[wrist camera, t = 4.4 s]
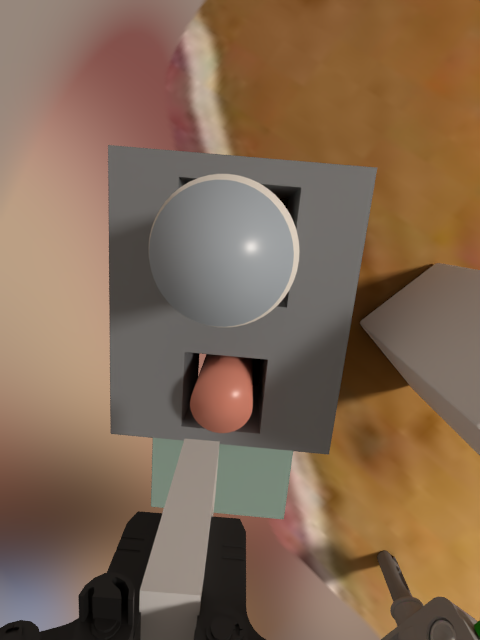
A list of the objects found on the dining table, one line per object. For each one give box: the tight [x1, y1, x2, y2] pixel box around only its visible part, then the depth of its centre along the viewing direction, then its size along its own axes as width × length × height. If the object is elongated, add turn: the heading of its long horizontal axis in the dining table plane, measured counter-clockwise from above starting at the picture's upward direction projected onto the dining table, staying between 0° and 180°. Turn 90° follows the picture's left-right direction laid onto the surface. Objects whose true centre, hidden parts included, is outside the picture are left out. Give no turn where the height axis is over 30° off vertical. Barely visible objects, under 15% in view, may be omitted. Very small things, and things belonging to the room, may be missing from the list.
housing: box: [108, 145, 377, 454], centre depth 24 cm, size 14×17×7 cm
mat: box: [151, 438, 293, 519], centre depth 31 cm, size 12×9×1 cm
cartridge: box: [149, 174, 299, 327], centre depth 18 cm, size 5×5×16 cm
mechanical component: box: [377, 551, 480, 640], centre depth 28 cm, size 3×10×10 cm, turn 141°
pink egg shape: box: [190, 354, 253, 433], centre depth 24 cm, size 4×4×8 cm
